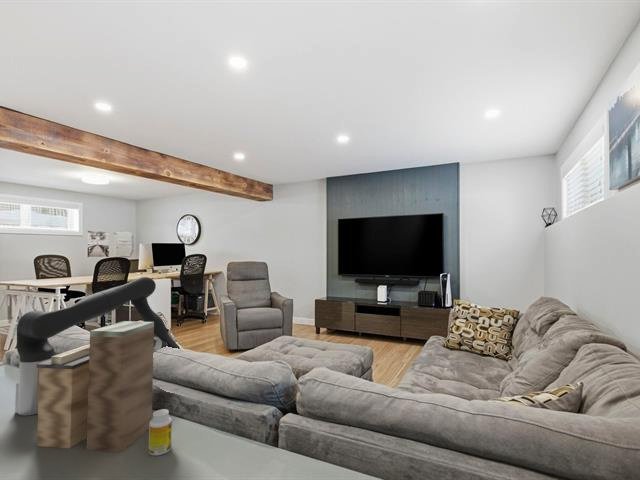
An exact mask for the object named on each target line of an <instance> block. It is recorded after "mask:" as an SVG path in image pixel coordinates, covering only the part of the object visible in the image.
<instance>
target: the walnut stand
mask: <svg viewBox="0 0 640 480" xmlns="http://www.w3.org/2000/svg"><path fill="white" fill-rule="evenodd" d="M89 344H90V352H89V386H88V420H87V437H86V451H87V450H88V451H100V452H101V451H102V452H111V453H122V452H123V451H124V450H125V449H127V448H128V447H129V446H130V445H132V443H134V442H135V441H136V440H137V439H139V438H140V437H141V436H143V434H145V433H146V432H147V431H149V423H150V421H151V420H152V419H153V385H154V384H153V381H154V358H153V346H154V322H144V321H137V320H136V321H134V320H133V321H131V320H130V321H129V320H128V321H127V320H123V321H119V322H116V323H112V324H109V325H105V326H102V327H99V328H96V329H92V330H89Z"/></svg>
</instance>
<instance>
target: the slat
mask: <svg viewBox="0 0 640 480" xmlns="http://www.w3.org/2000/svg"><path fill="white" fill-rule="evenodd" d="M89 352H90V343H89V344H86V345H83V346H80V347H77V348H74V349H70V350H68V351H64V352H62V353H58V354H54V356H52V357H51V364H63V363H66V362H69V361H72V360H74V359H77V358H80V357H83V356H85V355H88V354H89Z"/></svg>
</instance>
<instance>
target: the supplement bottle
mask: <svg viewBox="0 0 640 480" xmlns="http://www.w3.org/2000/svg"><path fill="white" fill-rule="evenodd" d="M169 413H170V412H169V409H166V408H165V409H164V408H162V409H158V410H156V411H153V412H152V420H151V421H150V423H149V429H148V453H149V454H150V455H151V456H161V455H164V454H166V453H168V452H169V451H170V450H171V448H172V429H173V428H172V422H173V421H172V417H171V416H170V414H169Z"/></svg>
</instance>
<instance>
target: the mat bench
mask: <svg viewBox="0 0 640 480" xmlns="http://www.w3.org/2000/svg"><path fill="white" fill-rule="evenodd" d="M36 368H40V374H39V403H38V414H37V435H36V438H37V440H36V446H37V447H43V448H44V447H46V448H61V449H71V448H73V447H74V446H76V445H77V444H78V443H80V442H81V441H83V440H85V439H87V420H88V386H89V354H88V355H85V356H83V357H80V358H77V359H74V360H72V361H69V362H66V363H63V364H51V359H50V360H47V361H44V362H41V363H38V364H37V367H36Z"/></svg>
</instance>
